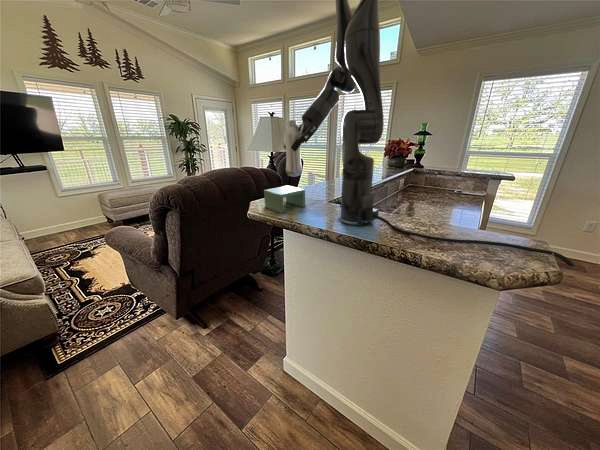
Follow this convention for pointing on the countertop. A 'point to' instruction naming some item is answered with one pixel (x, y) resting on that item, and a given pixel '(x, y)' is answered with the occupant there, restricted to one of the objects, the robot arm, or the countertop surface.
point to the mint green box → (276, 196)
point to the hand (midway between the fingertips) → (289, 149)
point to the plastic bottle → (292, 156)
